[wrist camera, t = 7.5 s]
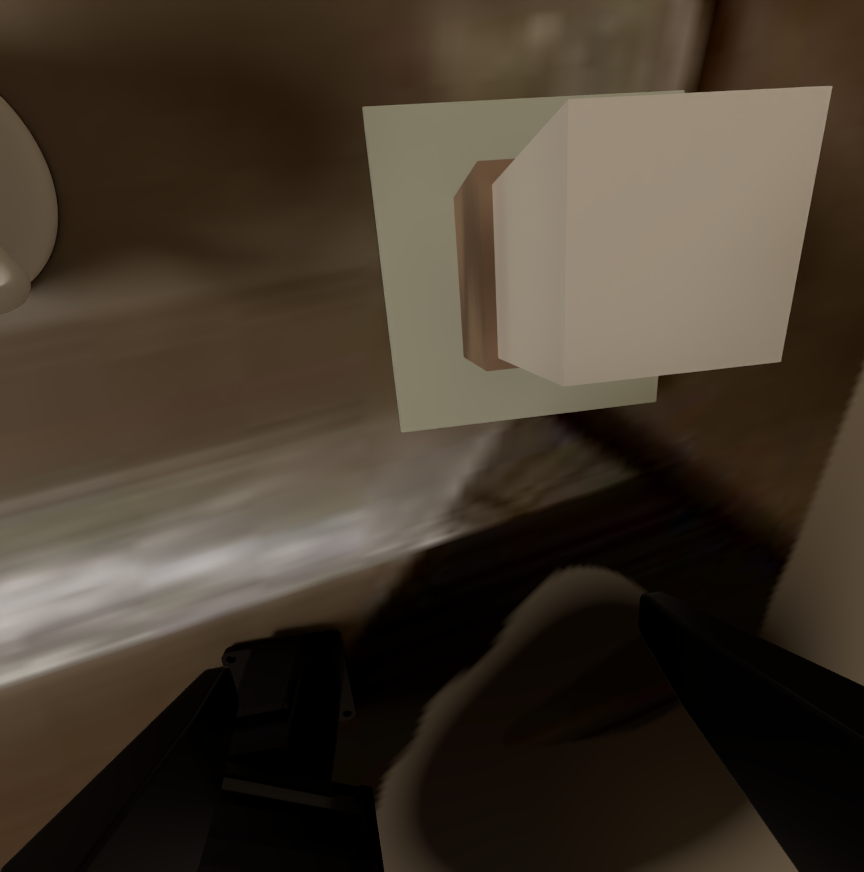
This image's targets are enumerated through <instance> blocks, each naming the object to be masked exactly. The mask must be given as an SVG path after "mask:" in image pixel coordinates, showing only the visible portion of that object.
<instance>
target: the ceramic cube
mask: <svg viewBox="0 0 864 872" xmlns="http://www.w3.org/2000/svg"><path fill="white" fill-rule="evenodd" d="M831 91H832V86H818V87H798V88H779V89H759V90H739V91H719V92H700V93H680V94H660V95H640V96H621V97H601V98H581V99H568V100H567V101H566V102H565V103H564V105H563V106H562V107H561V108H560V109H559V110H558V111H557V112H556V114H555V115H554V116H553V117H552V118H551V119H550V120H549V121H548V122H547V124H546V125H545V126H544V127H543V128H542V129H541V130H540V131H539V133H538V134H537V135H536V136H535V137H534V138H533V139H532V140H531V142H530V143H529V144H528V145H527V146H526V147H525V148H524V149H523V151H522V152H521V153H520V154H519V155H518V156H517V157H516V158H515V159H514V161H513V162H512V163H511V164H510V165H509V166H508V167H507V168H506V170H505V171H504V172H503V173H502V174H501V175H500V176H499V177H498V179H497V180H496V181H495V182H494V183H493V184H492V194H493V222H494V250H495V279H496V307H497V335H498V358H499V359H501V360H504V361H506V362H508V363H510V364H513V365H515V366H517V367H520V368H522V369H524V370H526V371H529V372H531V373H533V374H536V375H538V376H540V377H543V378H545V379H547V380H549V381H552V382H554V383H556V384H559V385H561V386H563V387H565V386H574V385H583V384H591V383H600V382H609V381H618V380H626V379H635V378H644V377H653V376H661V375H670V374H679V373H688V372H696V371H705V370H714V369H723V368H731V367H740V366H749V365H758V364H766V363H775V362H781V358H782V353H783V348H784V342H785V337H786V331H787V326H788V321H789V315H790V310H791V305H792V299H793V294H794V289H795V283H796V278H797V273H798V267H799V262H800V257H801V251H802V246H803V241H804V235H805V230H806V225H807V219H808V214H809V209H810V203H811V198H812V193H813V187H814V182H815V176H816V171H817V166H818V160H819V155H820V150H821V144H822V139H823V134H824V128H825V123H826V118H827V112H828V107H829V102H830V96H831Z"/></svg>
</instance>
